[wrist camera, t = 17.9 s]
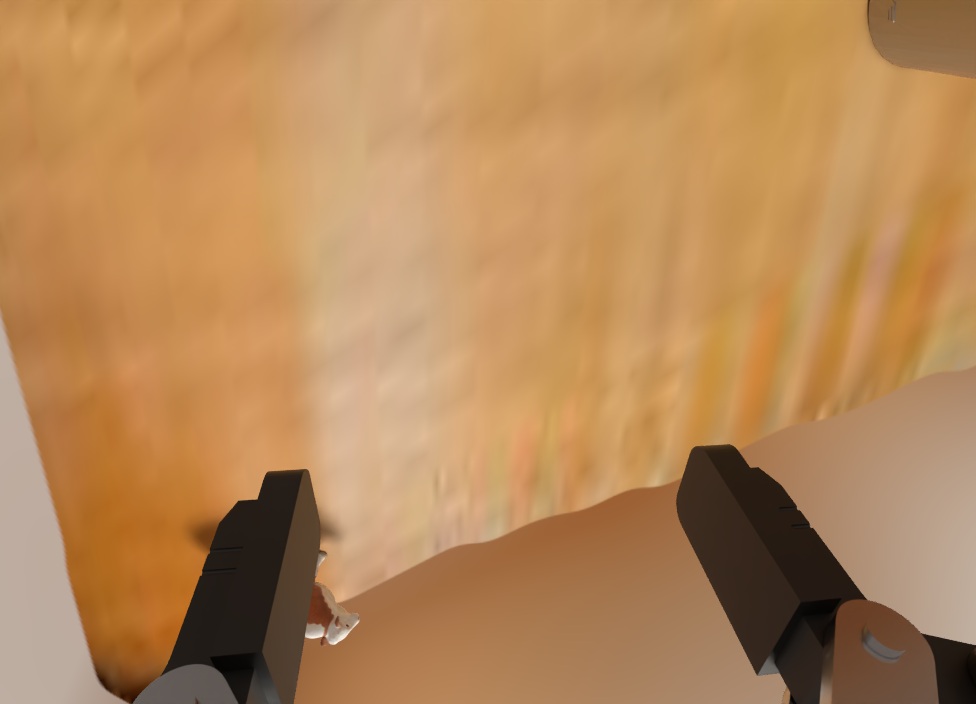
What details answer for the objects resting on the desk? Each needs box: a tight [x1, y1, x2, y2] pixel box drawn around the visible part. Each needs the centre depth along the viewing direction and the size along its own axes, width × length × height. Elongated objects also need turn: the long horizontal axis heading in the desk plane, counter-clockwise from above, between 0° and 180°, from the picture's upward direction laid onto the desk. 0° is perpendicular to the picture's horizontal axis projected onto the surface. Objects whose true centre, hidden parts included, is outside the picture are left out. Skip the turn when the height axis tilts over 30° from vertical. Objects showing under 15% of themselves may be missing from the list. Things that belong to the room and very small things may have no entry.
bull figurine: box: [305, 552, 360, 646], centre depth 52 cm, size 4×13×8 cm, turn 87°
